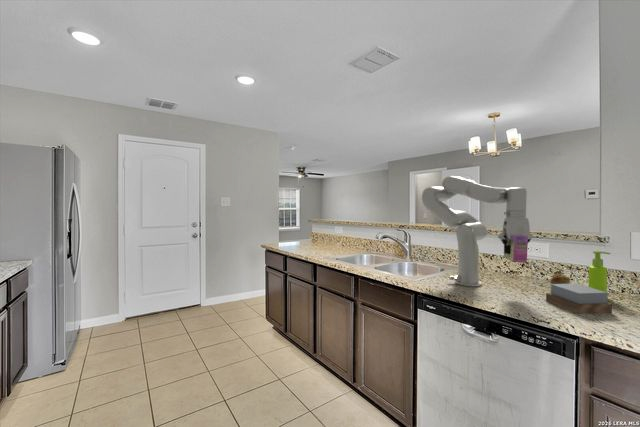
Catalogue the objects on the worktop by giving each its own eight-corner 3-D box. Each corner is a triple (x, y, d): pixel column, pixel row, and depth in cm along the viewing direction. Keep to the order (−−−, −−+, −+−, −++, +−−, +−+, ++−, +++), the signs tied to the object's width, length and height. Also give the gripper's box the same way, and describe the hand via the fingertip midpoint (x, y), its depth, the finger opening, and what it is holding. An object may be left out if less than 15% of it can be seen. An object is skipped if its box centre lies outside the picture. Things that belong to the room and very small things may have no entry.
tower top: (579, 303, 111) (579, 293, 110) (551, 293, 124) (551, 284, 123) (607, 303, 111) (607, 292, 111) (576, 292, 124) (576, 283, 124)
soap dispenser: (611, 300, 124) (612, 253, 124) (590, 297, 128) (590, 252, 128) (607, 296, 129) (608, 251, 129) (586, 294, 133) (587, 250, 133)
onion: (545, 286, 147) (546, 270, 146) (555, 284, 150) (555, 268, 149) (563, 290, 140) (563, 273, 139) (573, 288, 143) (573, 271, 143)
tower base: (577, 315, 110) (577, 304, 110) (546, 302, 125) (546, 292, 125) (611, 314, 110) (612, 304, 110) (576, 301, 125) (576, 292, 125)
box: (527, 262, 129) (528, 236, 129) (513, 262, 130) (513, 235, 130) (516, 258, 140) (517, 233, 139) (503, 257, 141) (503, 233, 140)
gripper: (502, 215, 130) (501, 255, 131) (540, 214, 131) (539, 254, 131) (492, 214, 138) (491, 252, 138) (528, 214, 138) (527, 251, 139)
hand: (515, 253), depth 135 cm, fingers closed on box, 6 cm apart
